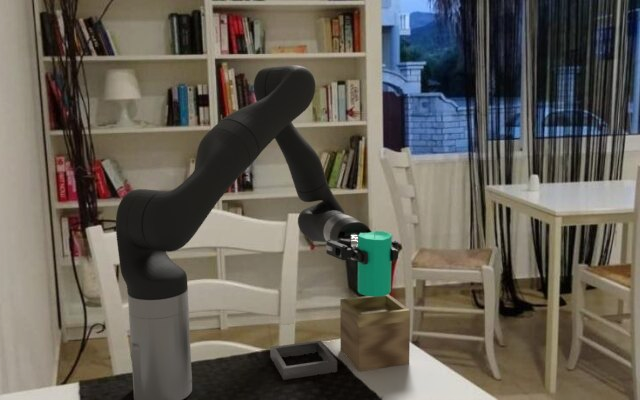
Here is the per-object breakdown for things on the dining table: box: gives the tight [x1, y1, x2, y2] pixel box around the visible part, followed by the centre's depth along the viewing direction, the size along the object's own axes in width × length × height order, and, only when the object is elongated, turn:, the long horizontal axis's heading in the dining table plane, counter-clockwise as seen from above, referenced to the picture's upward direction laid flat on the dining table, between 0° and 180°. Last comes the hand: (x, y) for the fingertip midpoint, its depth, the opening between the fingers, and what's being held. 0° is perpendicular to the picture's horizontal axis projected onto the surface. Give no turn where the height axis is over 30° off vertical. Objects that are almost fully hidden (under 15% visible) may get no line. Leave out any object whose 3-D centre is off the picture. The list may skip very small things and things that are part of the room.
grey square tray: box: [269, 340, 338, 381], centre depth 112 cm, size 10×10×2 cm
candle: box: [357, 225, 393, 297], centre depth 112 cm, size 6×6×12 cm
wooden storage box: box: [339, 293, 411, 372], centre depth 115 cm, size 10×10×10 cm
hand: (380, 257), depth 110 cm, fingers closed on candle, 5 cm apart
